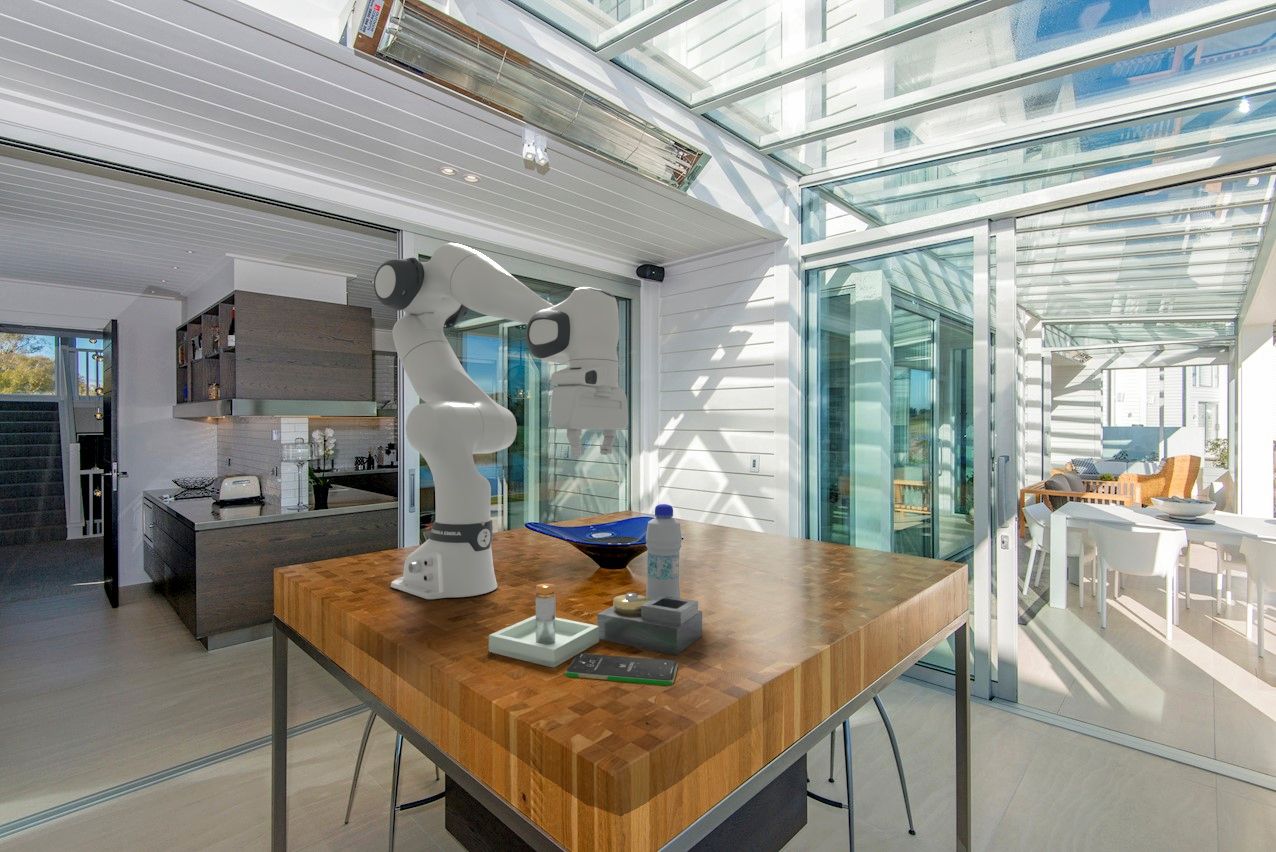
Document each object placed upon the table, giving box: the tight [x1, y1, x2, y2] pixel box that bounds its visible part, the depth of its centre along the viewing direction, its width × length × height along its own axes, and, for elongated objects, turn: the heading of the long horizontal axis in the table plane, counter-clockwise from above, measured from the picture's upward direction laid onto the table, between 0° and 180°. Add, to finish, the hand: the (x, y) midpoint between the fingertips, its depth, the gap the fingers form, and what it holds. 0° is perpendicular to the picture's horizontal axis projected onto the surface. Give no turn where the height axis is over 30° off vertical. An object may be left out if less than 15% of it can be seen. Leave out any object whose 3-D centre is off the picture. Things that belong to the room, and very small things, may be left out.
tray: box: [488, 614, 600, 669], centre depth 92 cm, size 12×12×2 cm
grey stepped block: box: [596, 592, 703, 656], centre depth 97 cm, size 14×10×6 cm
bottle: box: [645, 503, 683, 601], centre depth 110 cm, size 7×7×20 cm
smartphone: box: [564, 652, 679, 686], centre depth 84 cm, size 8×1×15 cm
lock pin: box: [535, 583, 556, 645], centre depth 92 cm, size 3×3×8 cm
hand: (592, 455), depth 107 cm, fingers open, 8 cm apart
